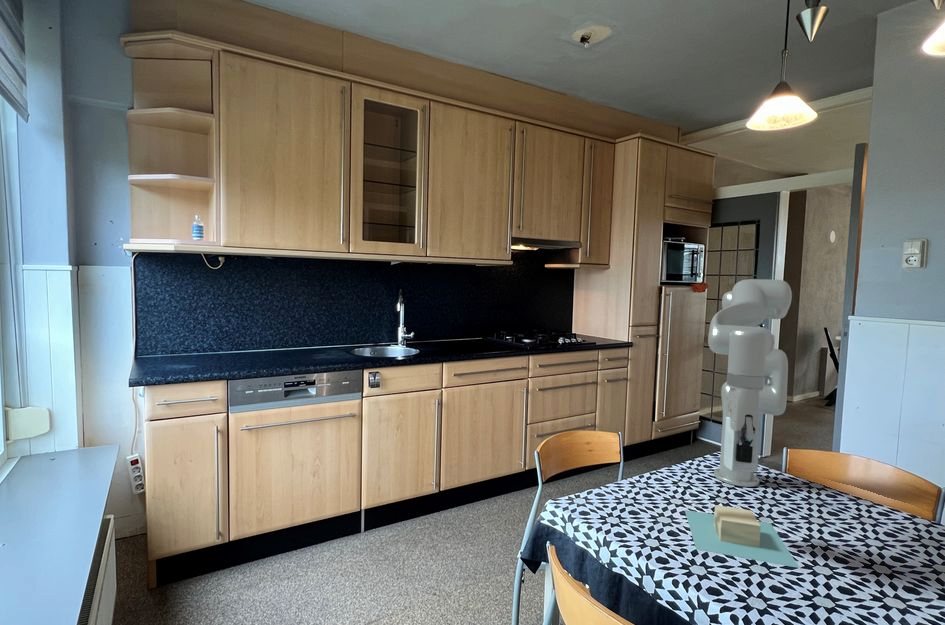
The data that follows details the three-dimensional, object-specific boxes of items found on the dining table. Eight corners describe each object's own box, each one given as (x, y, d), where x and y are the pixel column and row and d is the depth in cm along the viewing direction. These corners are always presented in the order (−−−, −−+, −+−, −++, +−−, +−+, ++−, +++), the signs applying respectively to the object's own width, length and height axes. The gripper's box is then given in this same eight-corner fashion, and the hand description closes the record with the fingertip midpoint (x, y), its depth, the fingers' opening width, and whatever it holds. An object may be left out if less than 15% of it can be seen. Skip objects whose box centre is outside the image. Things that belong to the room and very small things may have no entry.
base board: (684, 514, 125) (684, 509, 124) (770, 527, 119) (770, 523, 118) (695, 554, 105) (696, 549, 105) (799, 573, 100) (799, 567, 99)
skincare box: (747, 466, 113) (750, 416, 113) (758, 473, 109) (761, 421, 108) (722, 465, 113) (724, 415, 113) (731, 472, 109) (734, 420, 108)
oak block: (713, 524, 117) (715, 505, 117) (750, 530, 115) (751, 510, 114) (720, 540, 109) (721, 519, 109) (759, 547, 107) (760, 526, 107)
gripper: (720, 374, 119) (715, 444, 120) (735, 387, 103) (730, 468, 104) (753, 376, 117) (748, 448, 118) (774, 390, 101) (769, 473, 102)
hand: (740, 456), depth 111 cm, fingers closed on skincare box, 5 cm apart
